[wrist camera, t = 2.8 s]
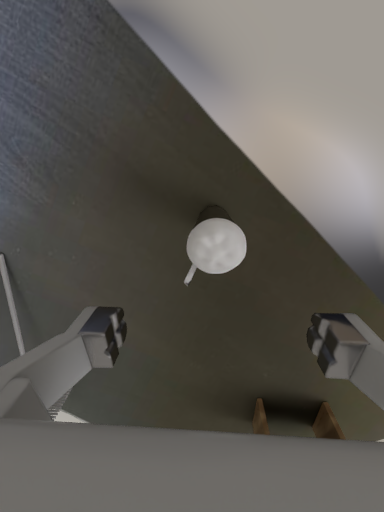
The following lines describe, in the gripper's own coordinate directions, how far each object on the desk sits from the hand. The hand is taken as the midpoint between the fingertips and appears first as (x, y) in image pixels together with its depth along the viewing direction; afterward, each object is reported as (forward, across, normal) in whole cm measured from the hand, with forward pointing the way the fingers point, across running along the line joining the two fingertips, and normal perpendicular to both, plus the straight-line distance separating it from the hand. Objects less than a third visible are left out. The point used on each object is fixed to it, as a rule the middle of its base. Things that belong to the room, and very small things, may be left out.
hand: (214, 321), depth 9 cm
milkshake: (+16, 0, 0) cm, 16 cm away
